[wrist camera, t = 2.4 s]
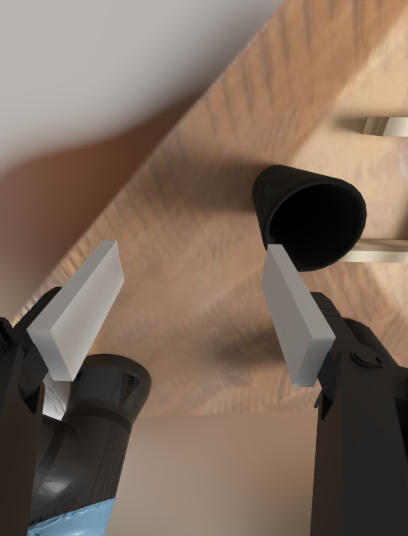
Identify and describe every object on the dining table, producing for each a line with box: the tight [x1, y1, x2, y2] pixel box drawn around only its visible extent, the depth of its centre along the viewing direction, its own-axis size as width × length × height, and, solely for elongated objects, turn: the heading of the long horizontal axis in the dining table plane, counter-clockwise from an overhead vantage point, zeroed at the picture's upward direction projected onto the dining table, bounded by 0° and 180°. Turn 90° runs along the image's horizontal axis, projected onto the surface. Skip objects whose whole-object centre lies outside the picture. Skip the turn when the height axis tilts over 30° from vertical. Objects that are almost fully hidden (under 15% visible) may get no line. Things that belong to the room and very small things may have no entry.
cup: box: [252, 165, 367, 272], centre depth 23 cm, size 8×8×12 cm
